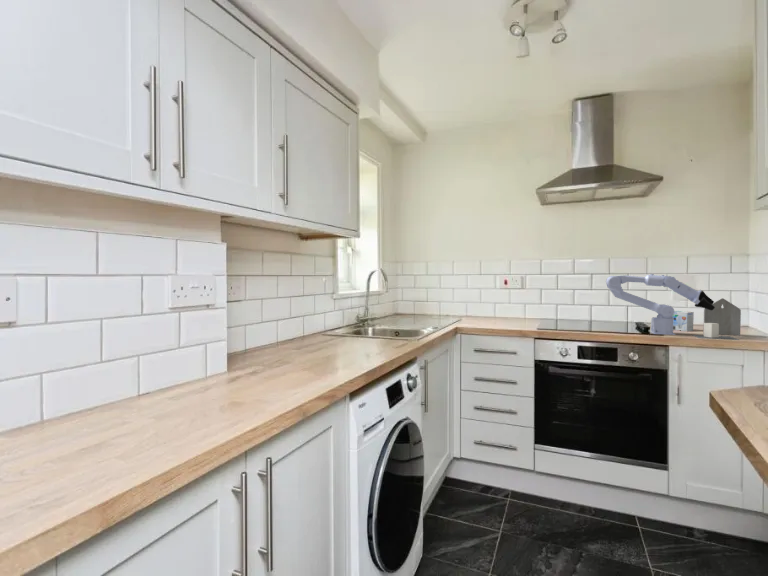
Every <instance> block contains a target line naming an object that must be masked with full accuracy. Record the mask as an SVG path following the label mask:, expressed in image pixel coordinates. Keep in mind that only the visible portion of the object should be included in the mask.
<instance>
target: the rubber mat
mask: <svg viewBox="0 0 768 576" xmlns="http://www.w3.org/2000/svg"><path fill="white" fill-rule="evenodd" d="M691 336H693V337H695V338H698V339H704V340H705V339H708V340H711V339H712V340H726V341H727V340H728V341H729V340H730V341H740V339H738V338H735V337H732V336H731V335H729V336H728V335H719V338H707V337H704V334H703V335H702V334H691Z"/></svg>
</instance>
